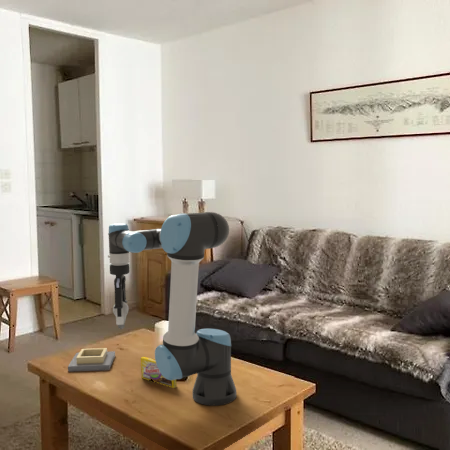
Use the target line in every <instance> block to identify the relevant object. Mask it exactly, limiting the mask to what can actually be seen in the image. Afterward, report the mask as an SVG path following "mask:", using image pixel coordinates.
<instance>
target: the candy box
mask: <svg viewBox="0 0 450 450" xmlns="http://www.w3.org/2000/svg"><path fill="white" fill-rule="evenodd" d="M140 370H141V379H142V380H143V379H144V380H147V381H149V380H151V379H152V380H153V381H154V382H153V383H155V382H157V383H156V384H159V383H160V384H159V385H162V384H163V386H165V385H166V386H165V387H168V386H169V388H171V389H175V388H177V387H178V386H177V379H175V380H168V379H166V378H165V377H164V376H163V375H162V374H161V373H160V371H159V369H158V367H157V364H156V360H155V358H154V359H153V358H151V357H147V356H142V357H140Z"/></svg>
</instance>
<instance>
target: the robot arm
mask: <svg viewBox="0 0 450 450" xmlns="http://www.w3.org/2000/svg"><path fill="white" fill-rule="evenodd" d="M162 223H163V224H162V225H161V228H155V229H154V228H153V229H141V230H129V225H128V223H111V224H109V226H108V233H107V235H108V250H109V252H108V253H109V255H107V258H108V259H109V264H110V265H109V274H110V275H113V276H115V278H114V280H113V284H114V305H115V307H114V309H115V308H116V316H115V321H116V323H115V324H116V325H115V326H118V325H123V324H124V319H123V302H125V303H126V304H127V303H128V300H127V296H126V295H127V294H126V292H127V291H126V280H127V279H126V276H125V275H128V274H130V271H131V270H130V264H129V263H130V253H132V254H133V253H136V254H138V253H141V252H143V251H150V250H157V249H159V250H160V249H162V250H163V251H164V252H165V253H166V256H167V258H168V259H169V260H170V261H171V264H170V265H171V267H170V287H169V305H168V324H167V325H168V328H167V331H166V332H165V333H164V334H163V336H162V344H159V345H157V346H156V348H155V350H154V359H155V360H156V364H157V367H158V369H159V371H160V373H161V374H162V375H163V376H164V377H165V378H166V379H168V380H175V379H176V380H181V379H183V378H186V377H189V376H194V375H196V378H195V382H194V385H193V388H192V400H194V401H195V402H196V403H198V404H200V405H205V406H212V407H213V406H223V405H227V404H230V403H232V402H234V401H235V400H236V398H237V388H236V385H235V382H234V379H233V375H232V339H231V335H230V333H228V332H227V331H225V330H222V329H218V328H201V329H197V330H196V316H197V315H196V314H197V300H198V299H197V297H198V285H199V284H198V283H199V268H200V262H202V260H204V258H205V251H206V250H209V249H215V248H218V247H220V246H222V245H223V244H224V243H225V242H226V241H227V240H228V237H229V235H230V225H229V223H228V220H227V219H226V218H225V217H224V216H222V215H221V214H220V213H217V212H213V211H206V212H189V213H188V212H187V213H184V212H183V213H182V212H181V213H177V214H172V215H169V216H168V217H167V218H166V219H165V220H164V222H162ZM126 319H127V318H126ZM126 319H125V321H126Z"/></svg>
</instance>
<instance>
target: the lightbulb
mask: <svg viewBox="0 0 450 450" xmlns="http://www.w3.org/2000/svg"><path fill="white" fill-rule="evenodd" d="M112 306H113V307H112V311H113V312H112V313H113V315H114V316H115V317H116V308H115V309H114V307H115V304H114V305H112ZM129 310H130V309H129V305H128V304H127V303H125V302H123V319H124V324H123V325H117V327H118V329H120V330H123V329H124V328H126V326H125V324H126V320H125V319H127V315H128V313H129Z"/></svg>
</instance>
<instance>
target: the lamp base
mask: <svg viewBox="0 0 450 450" xmlns="http://www.w3.org/2000/svg"><path fill="white" fill-rule="evenodd" d="M115 357H116V351H115V350H112V351H108V348H107V347H99V348H98V347H96V348H93V347H92V348H81V349H80V351H79V352H76V353H75V354H74V356H73V357H72V359H71V361H70V363H69V364H68V366H67V372H68V371H69V372H88V371H89V372H91V371H92V372H93V371H94V372H95V371H96V372H97V371H110V369H111V367H112V364H113V362H114V360H115Z"/></svg>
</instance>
